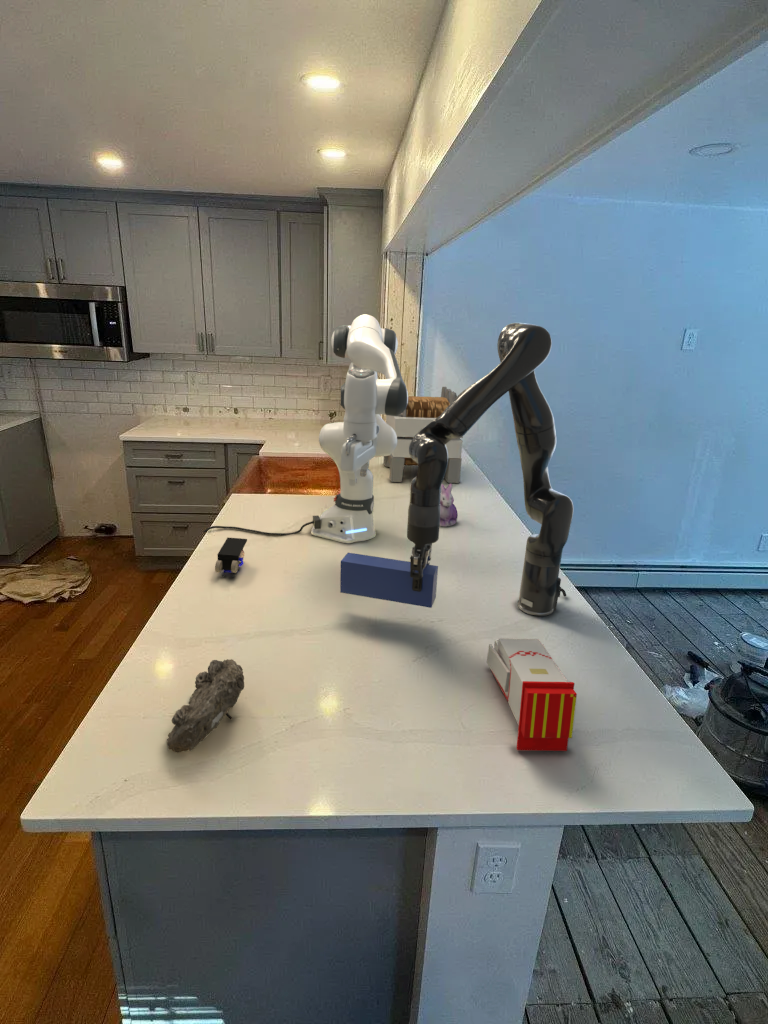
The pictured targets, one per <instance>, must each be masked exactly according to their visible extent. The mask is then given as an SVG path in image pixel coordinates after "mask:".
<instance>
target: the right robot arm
mask: <svg viewBox="0 0 768 1024" xmlns="http://www.w3.org/2000/svg"><path fill="white" fill-rule="evenodd" d="M552 345H553V341H552V336H551V334H550V332H549V331H548V330H547V329H546V327H543V326H540V325H538V324H532V323H525V322H511V323H509V324H507V325H505V326H504V327H503V328H502V330H501V331H500V333H499V335H498V339H497V345H496V347H497V355H498V358H499V364H498V365H496V366H495V367H494V368H493V369H492V370H490V371H489V372H488V373H487V374H486V375H484V376H483V377H481V378H480V379H479V380H477V381H475V382H474V383H472V384H471V385H469V386H468V387H467V388H465V389H464V390H463V391H462V392H460V393H459V394H458V395H457V397H456V398H455V399H454V400H453V401H452V403H451V404H450V405H449V406H448V407H447V408H446V409H445V410H444V411H443V413H442V414H441V415H440V416H439V417H438V418H436V419H435V420H433V421H432V422H430V423H429V424H428V425H427V426H425V427H424V428H423V429H421V430H420V431H419V432H418V433H417V434H416V435H415V436H414V438H413V439H412V441H411V442H410V445H409V455H410V457H411V458H412V459H413V460H414V461H415V462H416V463H418V466H417V472H416V476H415V477H413V478H412V479H411V483H410V491H409V504H408V509H407V528H406V539H407V540H408V541H409V542H411V543H413V544H414V546H413V547H412V550H411V554H412V555H410V558H409V559H410V561H409V562H410V577H412V578H413V584H412V590H413V591H418V592H420V591H421V590H422V579H423V572H424V568H426V565H427V564H428V565H430V562H431V560H432V551H433V549H432V548H433V544H434V543H437V542H438V541H439V538H440V527H441V526H440V498H441V484H443V482H444V479H445V478H444V475H445V472H446V468H447V464H448V451H447V447H446V444H447V443H448V442H449V441H450V440H452V439H459V438H460V439H462V438H461V437H463V438H464V436H465V435H466V434H467V433H468V432H469V431H470V430H471V429H472V428H473V426H474V425H475V424H476V423H477V422H478V421H479V419H481V417H483V415H484V414H485V413H486V412H487V411H489V409H490V408H491V407H492V406H494V404H495V403H497V402H498V401H499V400H500V398H502V397H504V395H505V394H507V393H508V396H509V403H510V408H511V413H512V418H513V425H514V432H515V439H516V444H517V447H518V448H517V449H518V454H519V461H520V466H521V470H522V471H521V472H522V479H523V481H522V482H523V497H524V507H525V511H526V512H525V513H526V514H527V515H528V517H529V518H530V519H531V520H532V521H535V522H536V523H538V524H540V529H539V533H534V534H530V535H529V536H528V537H527V539H526V543H525V544H526V545H525V551H524V559H523V567H522V573H521V579H520V588H519V593H518V594H519V595H518V599H517V608H518V609H519V610H520V611H521V612H524V613H525V614H528V615H531V616H537V617H545V616H550V615H552V614H553V613H554V612H556V611H557V607H558V601H559V598H560V597H561V593H562V596H563V597H567V593H566V590H565V589H563V588H562V586H561V583H562V579H561V577H559V575H560V569H561V563H562V556H563V550H564V547H565V546H566V543H568V539H569V536H570V532H571V531H570V530H571V526H572V523H573V522H572V521H573V518H574V503H573V500H572V499H571V497H569V496H568V495H566V494H564V493H563V492H559V491H557V490H555V489H553V487H552V485H551V481H550V475H549V464H550V462H551V460H552V458H553V455H554V453H555V450H556V447H557V432H556V424H555V418H554V414H553V412H552V409H551V407H550V404H549V402H548V401H547V399H546V397H545V395H544V393H543V392H542V390H541V388H540V385H539V383H538V380H537V376H536V371H535V370H536V369H537V368H538V367H540V366H541V365H543V363H544V362H545V361H546V360H547V359H548V357H549V355H550V353H551V350H552ZM422 564H423V565H422ZM415 570H416V571H418V572H415Z"/></svg>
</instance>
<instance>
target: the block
mask: <svg viewBox="0 0 768 1024" xmlns="http://www.w3.org/2000/svg"><path fill="white" fill-rule="evenodd" d="M422 565H423V564H422ZM415 572H418V571H416V570H415ZM438 572H439V566H438V565H434V564H429V565H428V564H427V565H426V568H424V572H423V579H422V590H421V591H420V592H418V591H413V590H412V584H413V578H412V577H410V561H408V560H401V559H394V558H389V557H388V558H387V557H381V556H380V557H379V556H375V555H367V554H361V553H353V552H347V553H346V554H345V555H344V556H343V558H341V560H340V577H339V579H340V584H339V585H340V587H339V588H340V590H339V592H340V593H342V594H347V595H353V596H358V597H364V598H365V597H366V598H370V599H371V598H372V599H376V600H382V601H389V602H394V603H399V604H400V603H401V604H404V605H405V604H406V605H411V606H418V607H424V608H429V609H432V608H433V606H434V603H435V600H436V598H437V586H438V576H439V575H438Z"/></svg>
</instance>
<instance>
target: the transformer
mask: <svg viewBox="0 0 768 1024" xmlns="http://www.w3.org/2000/svg"><path fill="white" fill-rule="evenodd" d="M440 393H441V394H440V396H415V395H414V396H413V395H412V396H411V395H408V404H407V407H406V409H405V410H404V411H403V412H402V413H401V414H399V415H398V416H390V415H385V422H386V423H387V424H388V425H389V426H391V427H392V428H393V429H394V431H395V433H396V435H397V446H396V448H395V450H394V452H393V453H392V454H391V455H388V456H383V466H384V467H388V468H389V475H388V476H389V477H388V478H389V480H390V482H391V483H402V482H403V475H404V469H405V466H406V467H407V466H411V467H412V466H413V467H415V466H416V467H418V463H416V462H415V461H414V460H413V459H412V458H411V457H410V455H409V445H410V442H411V441H412V439H413V438H414V436H415V435H416V434H417V433H418V432H419V431H420V430H421V429H423V428H424V427H425V426H427V425H428V424H429V423H430V422H432V421H433V420H435V419H436V418H438V417H439V416H440V415H441V414H442V413H443V411H444V410H445V409H446V408H447V407H448V406H449V405H450V404H451V403H452V401H453V400H454V399H455V398H456V397H457V396H458V395H457V392H455V391H453V390H452V389H451V388H447V386H442V387H441V392H440ZM463 438H464V436H463V437H461V438H459V439H452V440H450V441H449V442H448V443H447V444H446V447H447V451H448V464H447V468H446V472H445V475H444V479H445V481H446V482H447V483H449V484H450V483H452V484H455V483H456V484H459V483H461V472H462V461H463V460H462V453H463V442H464V441H463V440H462V439H463Z"/></svg>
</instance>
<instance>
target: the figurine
mask: <svg viewBox="0 0 768 1024" xmlns="http://www.w3.org/2000/svg"><path fill="white" fill-rule="evenodd" d="M452 489H453V483H449V484H448V485H447V487H445V485H444V484H443V483H442V484H441V498H440V527H450V526H454V525H455V524H457V520H458V517H459V516H458V514H459V513H458V510H457V507H456V505H455V504H454V502H455V498H454V495H453V493H452Z"/></svg>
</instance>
